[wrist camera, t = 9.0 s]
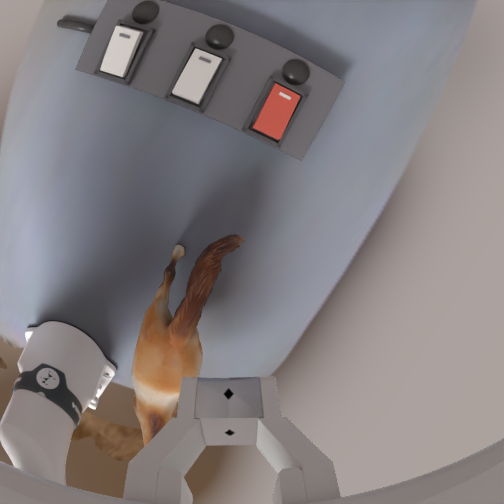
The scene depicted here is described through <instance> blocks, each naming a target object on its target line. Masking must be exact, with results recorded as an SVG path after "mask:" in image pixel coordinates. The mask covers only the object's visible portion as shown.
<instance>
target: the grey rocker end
mask: <svg viewBox="0 0 504 504" xmlns="http://www.w3.org/2000/svg"><path fill="white" fill-rule="evenodd" d="M142 35H143V32H141V31H138V30H134V29H131V28H127V27H123V26H116V27H115V30H114V32H113V35H112V37H111V40H110V43H109V45H108V48H107V51H106V54H105V56H104V59H103V62H102V65H101V68H100V70H101V71H104V72H108V73H111V74H114V75H117V76H120V77H125V76H126V75H127V73H128V70H129V67H130V65H131V62H132V59H133V57H134V54H135V52H136V49H137V47H138V44H139V42H140V40H141V37H142Z"/></svg>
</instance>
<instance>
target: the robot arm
mask: <svg viewBox="0 0 504 504" xmlns="http://www.w3.org/2000/svg"><path fill="white" fill-rule="evenodd" d="M25 336H26V339H27V344H26V346H25V348H24V350H23V352H22V354H21V356H20V359H19V361H18V366H19V370H20V373H21V374H20V375H19V377H18V379H17V380H16V382H15V384H14V388H13V390H12V394H13V396H12V398H11V400H10V402H9V405H8V406H7V409H6V411H5V413H4V415H3V418H2V420H1V422H0V440H1V444H2V445H3V448H4V449H5V451H6V452H7V454H8V455H9V457H10V458H11V460H12V463H13V465H14V467H13V466H10V465H8V464H6V463H3V462H1V461H0V504H193V496H192V494H191V492H190V490H189V488H188V486H187V483H186V481H185V479H184V475H185V474H186V473H187V471H188V470H189V469H190V467H191V466H192V465H193V463H194V462H195V461H196V459H197V458H198V456H199V455H200V454H201V452H202V451H203V449H204V448H205V445H256V446H257V448H258V449H259V450H260V451H261V452H262V454H263V455H264V456H265V458H266V459H267V460H268V462H269V463H270V464H271V465H272V467H273V468H274V469H275V470H276V471H277V473H278V478H277V481H276V485H275V488H274V491H273V494H272V499H273V504H504V438H503V439H502V440H500V441H498V442H496V443H494V444H492V445H490V446H489V447H487V448H485V449H483V450H481V451H479V452H476V453H475V454H472V455H470V456H468V457H466V458H464V459H462V460H459V461H457V462H455V463H452V464H450V465H447V466H445V467H443V468H440V469H438V470H435V471H432V472H430V473H427V474H424V475H421V476H418V477H416V478H413V479H410V480H407V481H404V482H401V483H397V484H394V485H390V486H387V487H383V488H379V489H376V490H372V491H368V492H364V493H360V494H355V495H351V496H346V497H341V496H340V492H339V487H338V483H337V478H336V474H335V470H334V466H333V462H332V461H331V460H330V459H329V458H328V457H327V456H326V455H325V454H324V453H322V451H320V450H319V449H318V448H317V447H316V446H315V445H314V444H313V443H312V442H311V441H310V440H309V439H308V438H307V437H306V436H305V435H304V434H303V433H302V432H301V431H300V430H299V429H298V428H297V427H296V426H295V425H293V423H291V421H290V420H288V418H287V417H281V411H280V404H279V397H278V391H277V384H276V379H275V377H274V376H271V377H237V378H201V377H183V378H182V380H181V387H180V395H179V403H178V412H177V418H172V419H171V420H170V421H169V422H168V423H167V424H166V425H165V426H164V427H163V428H162V429H161V430H160V431H159V432H158V433H157V434H156V436H155V437H154V438H153V439H152V440H151V441H150V442H149V443H148V444H147V445H146V446H145V447H144V448H143V449H142V450H141V451H140V452H139V453H138V454H137V455H136V456H135V457H134V458H133V459H132V460H131V461H130V462H129V465H128V471H127V477H126V483H125V490H124V496H123V499H119V498H114V497H109V496H105V495H100V494H96V493H92V492H88V491H84V490H80V489H76V488H73V487H69V486H66V482H65V462H66V458H67V452H68V448H69V444H70V440H71V436H72V433H73V430H75V429H76V428H77V425H78V424H79V422H80V419H81V415H82V413H83V412H84V411H85V410H86V408H87V407H88V406H89V407H90V408H92V409H96V406H97V404H98V398H99V397H100V395H101V394H102V392H103V391H104V389H105V388H106V386H107V385H108V383H109V382H110V381H111V379H112V378H113V376H114V375H115V373H116V368H115V366H114V365H113V364H112V363H110V362H109V361H108V360H107V359H106V358H105V356H104V355H103V353H102V351H101V350H100V348H99V347H98V346H97V344H96V343H95V342H94V341H93V340H92V339H91V338H90V337H88V336H87V335H86V334H85V333H83V332H82V331H80V330H78V329H77V328H75V327H73V326H71V325H68V324H65V323H62V322H56V321H49V322H45V323H43V324H41V325H40V326H38V327H33V328H27V330H26V332H25Z"/></svg>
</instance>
